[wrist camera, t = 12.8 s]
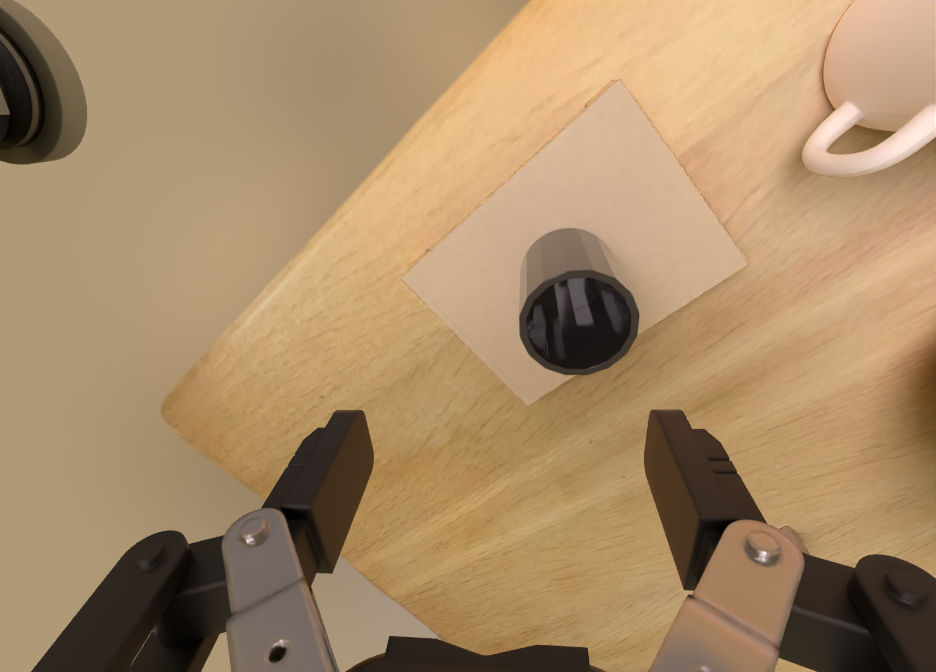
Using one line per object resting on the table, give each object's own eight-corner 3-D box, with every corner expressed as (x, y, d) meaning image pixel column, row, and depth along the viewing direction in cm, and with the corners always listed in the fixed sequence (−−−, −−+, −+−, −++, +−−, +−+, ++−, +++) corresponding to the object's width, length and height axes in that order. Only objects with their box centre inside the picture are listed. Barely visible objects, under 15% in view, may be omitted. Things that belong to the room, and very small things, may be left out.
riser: (527, 385, 38) (527, 406, 36) (409, 265, 35) (400, 279, 32) (731, 250, 31) (749, 264, 29) (611, 79, 28) (620, 78, 25)
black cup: (522, 314, 32) (520, 375, 25) (519, 230, 29) (517, 272, 22) (609, 311, 31) (634, 374, 24) (615, 225, 29) (644, 267, 22)
